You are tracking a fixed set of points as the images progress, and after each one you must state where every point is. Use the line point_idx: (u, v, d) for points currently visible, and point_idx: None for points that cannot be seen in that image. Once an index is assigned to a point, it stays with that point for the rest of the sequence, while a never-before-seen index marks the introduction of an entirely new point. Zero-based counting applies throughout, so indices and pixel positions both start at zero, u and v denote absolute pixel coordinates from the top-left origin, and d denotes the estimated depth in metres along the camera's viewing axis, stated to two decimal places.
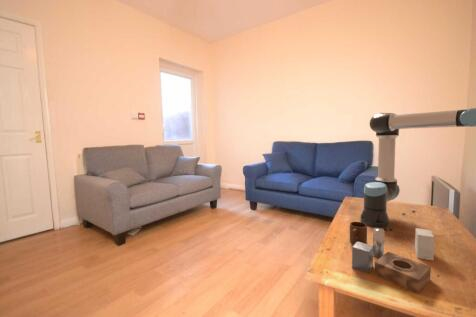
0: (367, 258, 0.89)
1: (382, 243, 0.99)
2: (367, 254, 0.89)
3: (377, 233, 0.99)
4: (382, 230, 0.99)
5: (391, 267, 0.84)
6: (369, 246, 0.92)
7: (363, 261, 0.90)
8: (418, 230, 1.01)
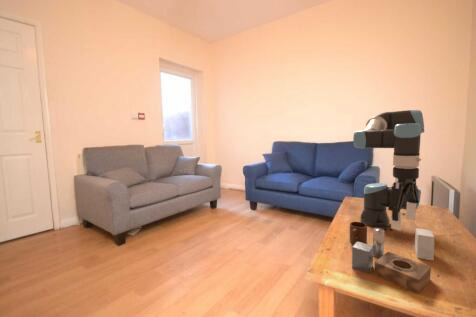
0: (367, 258, 0.89)
1: (382, 243, 0.99)
2: (367, 254, 0.89)
3: (377, 233, 0.99)
4: (382, 230, 0.99)
5: (391, 267, 0.84)
6: (369, 246, 0.92)
7: (363, 261, 0.90)
8: (418, 230, 1.01)
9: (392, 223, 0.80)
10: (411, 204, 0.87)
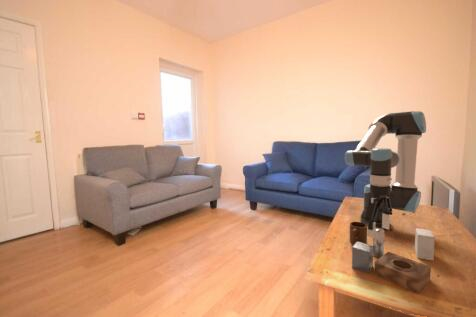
0: (367, 258, 0.89)
1: (382, 243, 0.99)
2: (367, 254, 0.89)
3: (377, 233, 0.99)
4: (382, 230, 0.99)
5: (391, 267, 0.84)
6: (369, 246, 0.92)
7: (363, 261, 0.90)
8: (418, 230, 1.01)
9: (368, 231, 0.96)
10: (386, 215, 1.03)
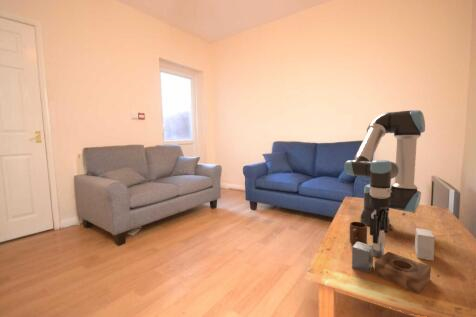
0: (367, 258, 0.89)
1: (382, 243, 0.99)
2: (367, 254, 0.89)
3: None
4: (382, 230, 0.99)
5: (391, 267, 0.84)
6: (369, 246, 0.92)
7: (363, 261, 0.90)
8: (418, 230, 1.01)
9: (373, 245, 1.00)
10: None
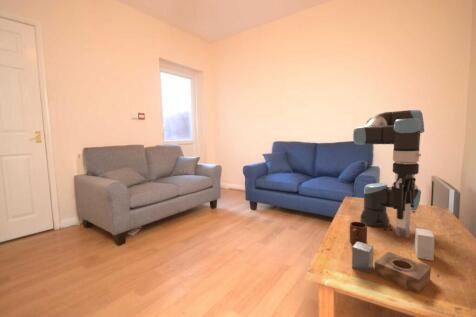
0: (367, 258, 0.89)
1: (408, 219, 0.82)
2: (367, 254, 0.89)
3: None
4: (408, 203, 0.82)
5: (391, 267, 0.84)
6: (369, 246, 0.92)
7: (363, 261, 0.90)
8: (418, 230, 1.01)
9: (397, 221, 0.83)
10: None
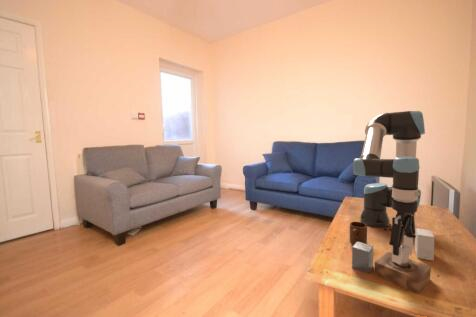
0: (367, 258, 0.89)
1: (406, 263, 0.84)
2: (367, 254, 0.89)
3: None
4: (407, 247, 0.84)
5: (391, 267, 0.84)
6: (369, 246, 0.92)
7: (363, 261, 0.90)
8: (418, 230, 1.01)
9: (393, 257, 0.83)
10: (408, 238, 0.87)
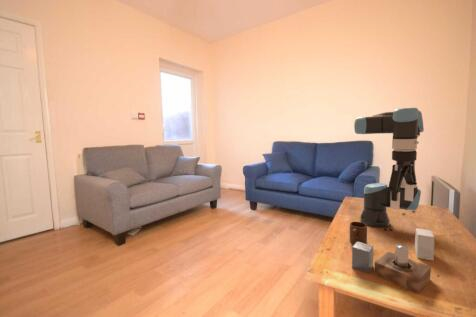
0: (367, 258, 0.89)
1: (406, 263, 0.84)
2: (367, 254, 0.89)
3: (400, 251, 0.84)
4: (406, 247, 0.84)
5: (391, 267, 0.84)
6: (369, 246, 0.92)
7: (363, 261, 0.90)
8: (418, 230, 1.01)
9: (392, 203, 0.85)
10: (409, 186, 0.91)
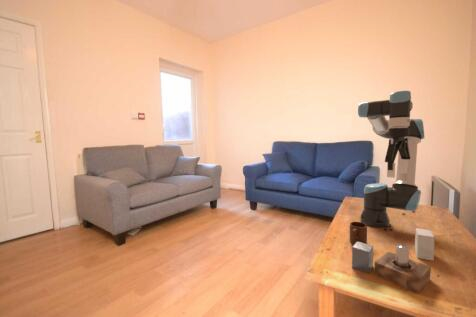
0: (367, 258, 0.89)
1: (407, 263, 0.84)
2: (367, 254, 0.89)
3: (401, 251, 0.84)
4: (407, 247, 0.84)
5: (391, 267, 0.84)
6: (369, 246, 0.92)
7: (363, 261, 0.90)
8: (418, 230, 1.01)
9: (388, 172, 0.99)
10: (404, 160, 1.06)
